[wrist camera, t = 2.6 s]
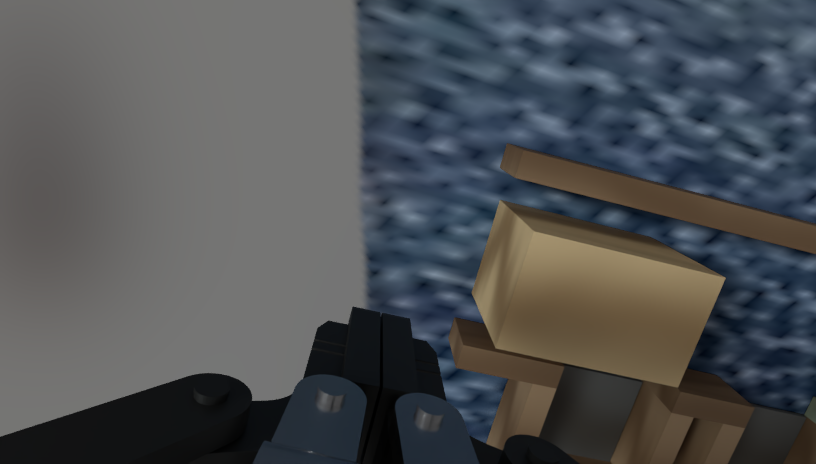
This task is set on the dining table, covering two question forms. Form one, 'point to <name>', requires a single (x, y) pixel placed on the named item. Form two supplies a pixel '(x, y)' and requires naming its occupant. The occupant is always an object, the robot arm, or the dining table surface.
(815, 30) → the dining table surface
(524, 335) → the block
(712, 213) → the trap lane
